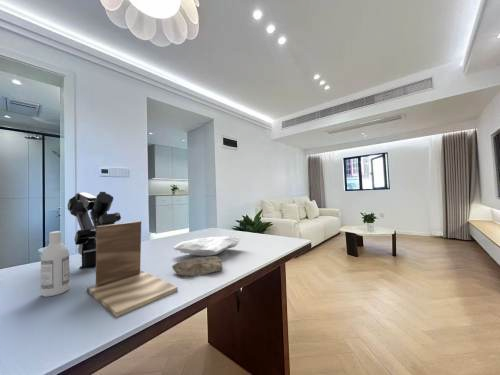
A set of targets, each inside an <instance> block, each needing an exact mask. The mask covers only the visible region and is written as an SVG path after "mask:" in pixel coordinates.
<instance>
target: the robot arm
mask: <svg viewBox="0 0 500 375" xmlns="http://www.w3.org/2000/svg"><path fill="white" fill-rule="evenodd" d="M113 201H114V197H113V196H112V194H109V193H107V192H106V191H99V193H98V194H97V195H96V196H95V195H92V194H90V193H89V192H84V191H83V192H75V195H74V196H73V197H71V198H69V199H68V203H67V210H68V212H69V213H70V214H71V215H72V216H74V217H75V218H76V219H77V223H78V225H79V228H80V229H78V230H77V231H76V233H75V236H74V244H75V246H78V248H77V252H78V254H79V255H81V265H80V266H79V269H90V268H96V226H102V225H110V224H116V222H119V221H120V220H121V219H122V217H121V213H120V212H114V213H108V212H109V211H110V210H111V207H112V204H113ZM89 211H90V212H89Z"/></svg>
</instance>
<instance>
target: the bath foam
mask: <svg viewBox="0 0 500 375" xmlns="http://www.w3.org/2000/svg"><path fill="white" fill-rule="evenodd" d="M48 234H49V235H48V236H49V237H48V238H49V239H48V241H49V243H48V245H47V246H46V247H45V249H44V250H43V251H42V253H41V257H40V291H41V292H40V294H41V296H43V297H44V298H45V297H46V298H47V297H53V296H54V297H55V296H58V295H60V294H64V293H65V292H67V291H68V290H69V289H70V253H69V250H68V247H67V246H65V244H64V243H63V242H62V231H59V230H55V231H50V232H48Z"/></svg>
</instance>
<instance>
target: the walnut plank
mask: <svg viewBox="0 0 500 375" xmlns="http://www.w3.org/2000/svg"><path fill="white" fill-rule="evenodd" d="M141 248H142V220H141V221H140V220H137V221H129V222H120V223H114V224H110V225H102V226H96V267H95V285H96V286H100V285H104V284H107V283H110V282H113V281H117V280H120V279H123V278H126V277H129V276H133V275H136V274H139V273H140V271H141V260H142V259H141V254H142V253H141Z"/></svg>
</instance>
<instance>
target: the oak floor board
mask: <svg viewBox="0 0 500 375" xmlns="http://www.w3.org/2000/svg"><path fill="white" fill-rule="evenodd" d="M86 292H88V293H89V294H90V295H91V296H92V297H93V298H94V299H95V300H97V301H98V302H99V303H100V304H101V305H103V307H104V308H106V310H108V311H109V312H110V313H111V314H113V316H114V317H116V318H118V317H120V316H123V315H124V314H127V313H130V312H132V311H134V310H136V309H138V308H141V307H143V306H145V305H147V304H150V303H152V302H155V301H157V300H159V299H162V298H164V297H167V296H168V295H171V294H173V293H176V292H178V286H177V285H173V284H172V283H170V282H167V281H165V280H163V279H161V278H159V277H157V276H154V275H152V274H150V273H148V272H146V271H144V270H140V273H139V274H136V275H133V276H129V277H126V278H123V279H120V280H117V281H113V282H110V283H107V284H104V285H100V286H96V284H93V285H90V286H87V287H86Z"/></svg>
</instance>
